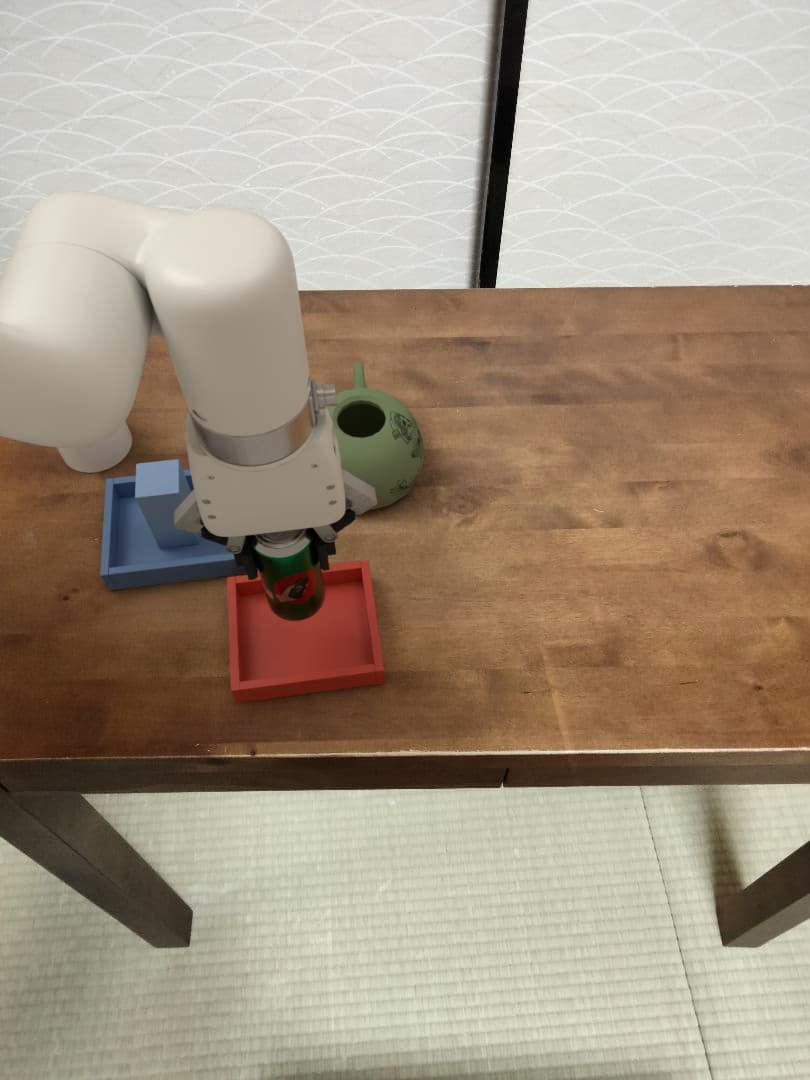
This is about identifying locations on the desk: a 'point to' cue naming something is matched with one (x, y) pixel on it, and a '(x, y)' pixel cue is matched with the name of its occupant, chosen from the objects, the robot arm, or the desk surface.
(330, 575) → the red tray
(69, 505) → the desk surface
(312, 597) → the soda can
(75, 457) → the pill bottle
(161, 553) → the blue tray
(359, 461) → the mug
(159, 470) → the blue block
